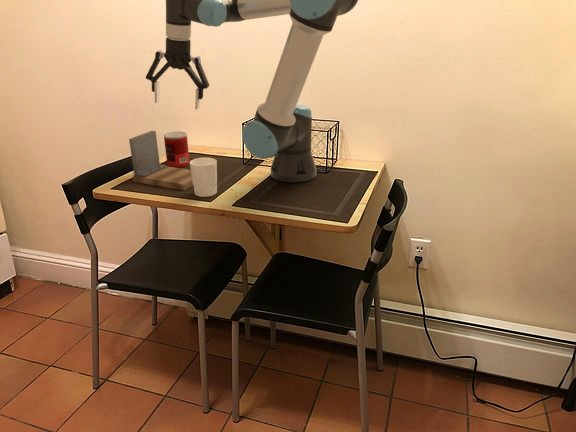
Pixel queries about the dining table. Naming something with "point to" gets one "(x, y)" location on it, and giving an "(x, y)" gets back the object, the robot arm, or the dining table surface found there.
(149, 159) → the bookend
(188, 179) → the shelf board
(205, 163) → the white cup
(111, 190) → the dining table surface
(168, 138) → the canned food
